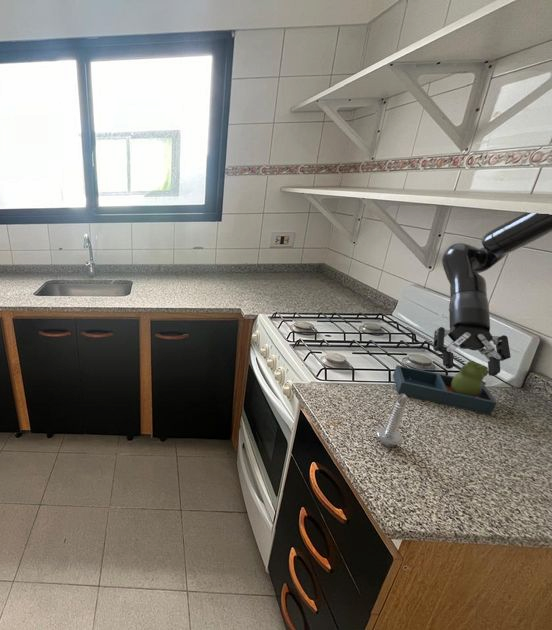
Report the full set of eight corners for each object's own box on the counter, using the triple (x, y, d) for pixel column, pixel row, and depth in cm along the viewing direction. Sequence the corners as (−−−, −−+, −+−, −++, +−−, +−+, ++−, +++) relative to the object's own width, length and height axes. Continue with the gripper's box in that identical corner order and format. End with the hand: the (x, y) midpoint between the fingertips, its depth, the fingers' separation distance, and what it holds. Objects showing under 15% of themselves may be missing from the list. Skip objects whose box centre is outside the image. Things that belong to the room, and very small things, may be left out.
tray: (477, 393, 91) (482, 382, 89) (490, 415, 83) (496, 403, 82) (392, 375, 99) (396, 364, 97) (397, 393, 91) (401, 382, 90)
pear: (442, 391, 90) (456, 359, 86) (456, 387, 92) (470, 355, 88) (468, 404, 85) (484, 370, 81) (481, 399, 87) (497, 366, 83)
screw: (378, 431, 78) (403, 444, 75) (369, 441, 76) (394, 454, 72) (395, 384, 73) (423, 395, 70) (386, 392, 71) (414, 404, 67)
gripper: (442, 302, 90) (443, 361, 85) (514, 310, 85) (519, 374, 80) (428, 313, 96) (428, 369, 91) (494, 321, 91) (498, 380, 86)
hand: (471, 371), depth 86 cm, fingers open, 8 cm apart
